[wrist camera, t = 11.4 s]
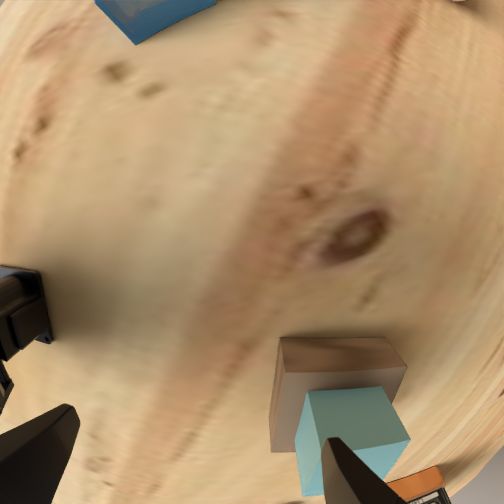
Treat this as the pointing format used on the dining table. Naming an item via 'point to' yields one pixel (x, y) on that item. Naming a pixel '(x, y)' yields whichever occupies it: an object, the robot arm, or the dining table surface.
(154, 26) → the perfume bottle
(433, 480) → the whiskey bottle
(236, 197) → the dining table surface
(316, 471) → the teal block
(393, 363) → the walnut block
